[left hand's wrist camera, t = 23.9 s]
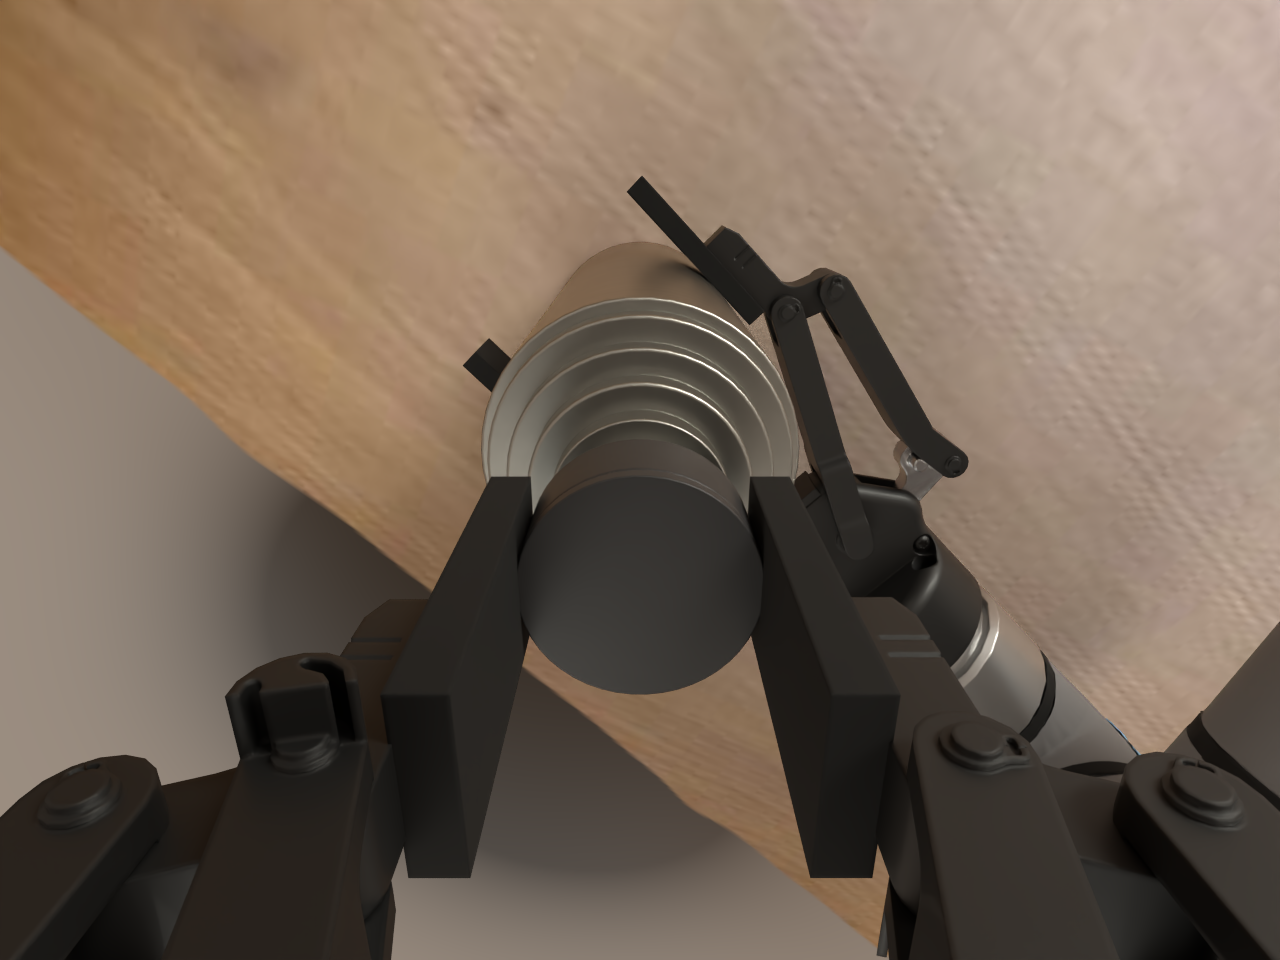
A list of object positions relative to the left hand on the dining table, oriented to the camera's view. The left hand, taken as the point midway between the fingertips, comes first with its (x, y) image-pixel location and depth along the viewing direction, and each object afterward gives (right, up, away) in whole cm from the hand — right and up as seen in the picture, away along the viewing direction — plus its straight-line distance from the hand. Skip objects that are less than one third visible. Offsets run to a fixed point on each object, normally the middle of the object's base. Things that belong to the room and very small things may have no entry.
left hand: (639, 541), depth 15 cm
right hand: (-3, +9, +14) cm, 17 cm away
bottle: (0, +8, +21) cm, 23 cm away
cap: (0, -1, -2) cm, 2 cm away
